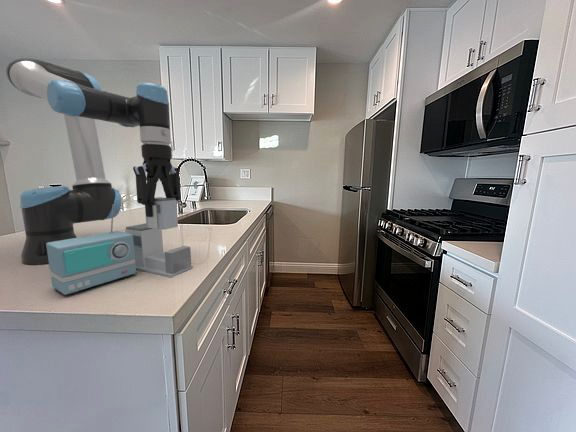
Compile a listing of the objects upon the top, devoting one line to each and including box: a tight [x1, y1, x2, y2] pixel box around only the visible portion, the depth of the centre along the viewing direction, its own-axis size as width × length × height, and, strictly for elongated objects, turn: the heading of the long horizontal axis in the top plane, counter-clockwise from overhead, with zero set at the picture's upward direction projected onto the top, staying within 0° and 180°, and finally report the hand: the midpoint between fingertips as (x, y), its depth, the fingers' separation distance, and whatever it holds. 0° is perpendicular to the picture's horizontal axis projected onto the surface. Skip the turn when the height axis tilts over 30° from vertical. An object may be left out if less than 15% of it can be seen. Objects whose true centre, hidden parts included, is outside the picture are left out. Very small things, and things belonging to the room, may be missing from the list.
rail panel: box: [136, 251, 194, 278], centre depth 76 cm, size 20×8×4 cm, turn 67°
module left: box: [124, 222, 164, 267], centre depth 78 cm, size 7×8×12 cm
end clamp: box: [164, 245, 192, 274], centre depth 73 cm, size 2×7×6 cm, turn 157°
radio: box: [46, 204, 137, 296], centre depth 64 cm, size 16×9×20 cm, turn 148°
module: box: [144, 196, 179, 231], centre depth 74 cm, size 7×5×8 cm
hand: (162, 225), depth 74 cm, fingers closed on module, 5 cm apart
